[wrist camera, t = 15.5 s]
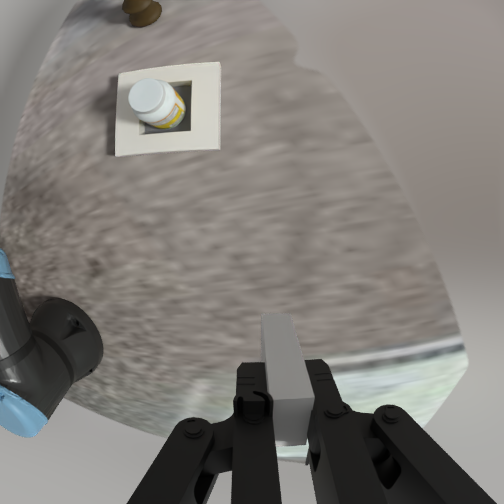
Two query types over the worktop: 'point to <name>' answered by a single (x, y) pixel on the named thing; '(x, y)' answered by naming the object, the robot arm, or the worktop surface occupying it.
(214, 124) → the socket block
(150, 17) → the kendama
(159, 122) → the supplement bottle
